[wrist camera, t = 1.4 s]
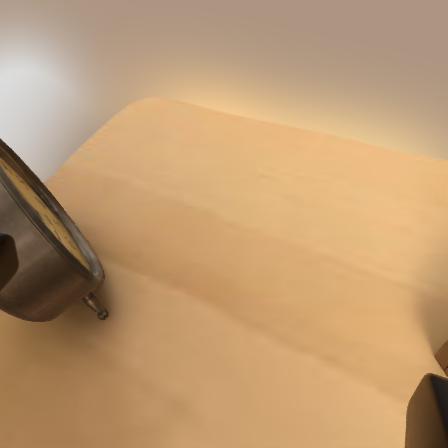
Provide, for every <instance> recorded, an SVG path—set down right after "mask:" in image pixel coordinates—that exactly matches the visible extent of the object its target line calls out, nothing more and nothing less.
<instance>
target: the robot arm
mask: <svg viewBox="0 0 448 448" xmlns="http://www.w3.org/2000/svg"><path fill="white" fill-rule="evenodd" d="M18 269H19V259H18V254H17V249H16V244H15V240H14V238H13V237H12V236H11V235H9V234H7V233H3V232H0V292H1V291H2V290H3V289H4V287H5V286H6V285H7V284H8V283H9V282H10V280H11V279H12V278H13V277H14V276H15V274H16V273H17V271H18ZM405 448H448V378H445V377H442V376H439V375H436V374H433V373H427V374H426V375H425V376H424V377H423V378H422V380H421V382H420V384H419V385H418V387H417V389H416V390H415V392H414V394H413V395H412V397H411V399H410V401H409V404H408V407H407V416H406V437H405Z"/></svg>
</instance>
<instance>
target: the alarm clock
mask: <svg viewBox="0 0 448 448" xmlns="http://www.w3.org/2000/svg"><path fill="white" fill-rule="evenodd" d="M0 232H3V233H7V234H9V235H11V236H12V237H13V238H14V240H15V244H16V249H17V254H18V259H19V269H18V271H17V273H16V274H15V276H14V277H13V278H12V279H11V280H10V282H9V283H8V284H7V285H6V286H5V287H4V289H3V290H2V291H1V292H0V309H1V310H2V311H4V312H6V313H8V314H10V315H12V316H15V317H17V318H20V319H23V320H27V321H33V322H44V321H50V320H52V319H54V318H56V317H57V316H58V315H60V314H61V313H63V312H64V311H65V310H67V309H68V308H70V307H71V306H72V305H74V304H75V303H77V302H78V301H79V300H81V299H82V300H83V301H84V302H85V303H86V304H87V306H89V307H90V308H91V309H92V310H94V311H95V312H97V313H98V318H99V319H101V320H105V319H106V317H108V312H107V311H106V310H103V309H102V307H101V304H100V303H99V301H98V300H97V298H96V297H95V296H94V295H93V294H92V291H93V290H95V289H96V288H97V287H99V286H100V285H102V284H103V283H104V280H105V274H104V271H103V268H102V266H101V264H100V262H99V260H98V258H97V256H96V255H95V253H94V251H93V250H92V248H91V247H90V245H89V244H88V242H87V240H86V239H85V238H84V236H83V235H82V233H81V232H80V231H79V229H78V228H77V226H76V225H75V223H74V222H73V221H72V219H71V218H70V217H69V216H68V214H67V213H66V212H65V210H64V209H63V207H62V206H61V205H60V204H59V202H58V201H57V200H56V198H55V197H54V196H53V195H52V193H51V192H50V191H49V190H48V189H47V188H46V186H45V185H44V184H43V183H42V182H41V181H40V179H39V178H38V177H37V176H36V175H35V174H34V173H33V172H32V171H31V169H30V168H29V167H28V166H27V165H26V164H25V163H24V162H23V161H22V160H21V159H20V157H19V156H18V155H17V154H16V153H15V152H14V151H13V150H12V149H11V148H10V147H9V146H8V145H6V143H5V142H3V141H2V140H1V139H0Z"/></svg>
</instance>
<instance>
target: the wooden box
mask: <svg viewBox="0 0 448 448" xmlns="http://www.w3.org/2000/svg"><path fill="white" fill-rule="evenodd" d="M435 358H436V359H437V361H438V362H439V364H440V365H441V367H442V368H443V370H445V372H446V374H447V375H448V340H447V341H446V342H445V343H444V345H443V346H442V347H441V348H440V350H439V351H438V352H437V353H436V355H435Z"/></svg>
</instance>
